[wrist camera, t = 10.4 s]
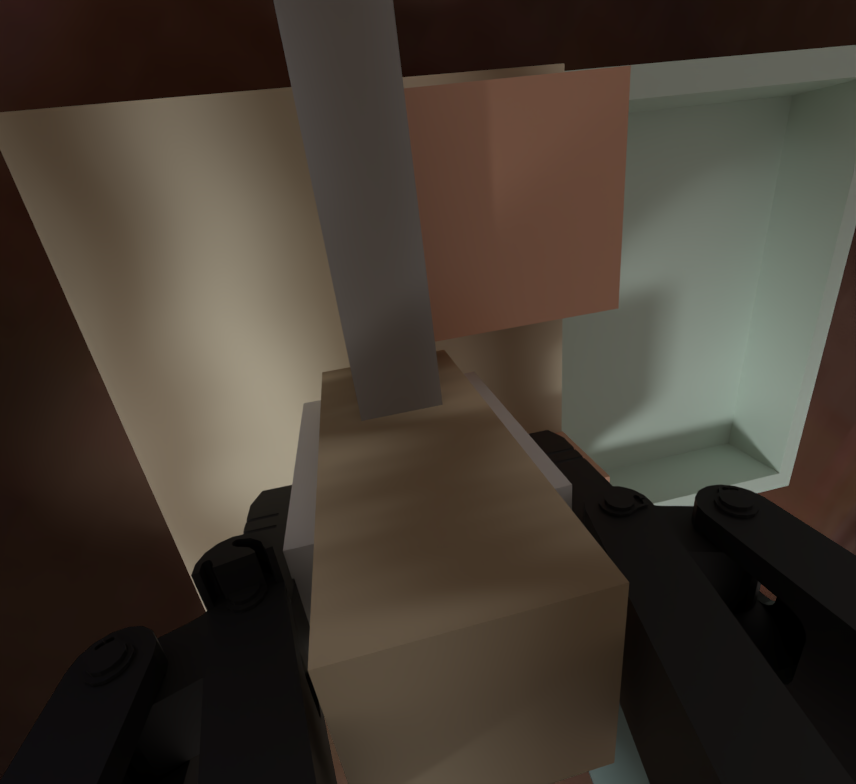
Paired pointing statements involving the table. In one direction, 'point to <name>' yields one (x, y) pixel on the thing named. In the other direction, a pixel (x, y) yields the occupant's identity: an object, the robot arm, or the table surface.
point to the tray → (719, 273)
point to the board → (219, 288)
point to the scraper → (430, 484)
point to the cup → (622, 760)
